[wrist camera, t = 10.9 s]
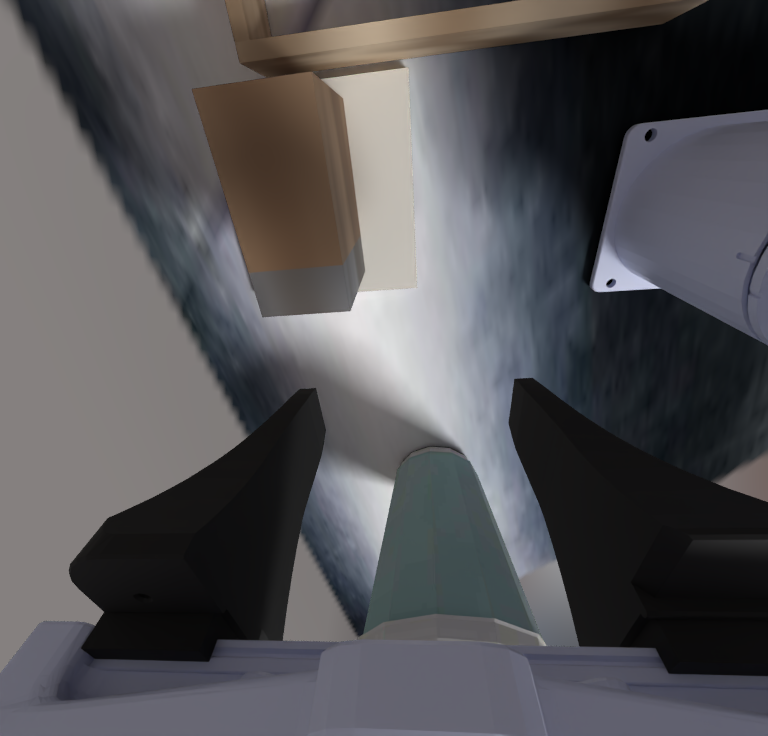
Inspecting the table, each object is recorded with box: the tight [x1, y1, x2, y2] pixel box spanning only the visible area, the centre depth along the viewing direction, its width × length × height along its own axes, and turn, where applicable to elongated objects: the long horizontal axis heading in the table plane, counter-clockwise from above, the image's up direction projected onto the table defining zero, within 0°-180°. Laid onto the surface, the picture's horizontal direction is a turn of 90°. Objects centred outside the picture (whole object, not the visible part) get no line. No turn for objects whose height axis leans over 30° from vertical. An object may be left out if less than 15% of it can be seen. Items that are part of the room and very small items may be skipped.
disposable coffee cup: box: [357, 447, 547, 646], centre depth 23 cm, size 11×11×15 cm
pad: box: [321, 67, 417, 292], centre depth 18 cm, size 10×10×1 cm
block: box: [192, 71, 365, 317], centre depth 15 cm, size 4×8×6 cm, turn 6°
